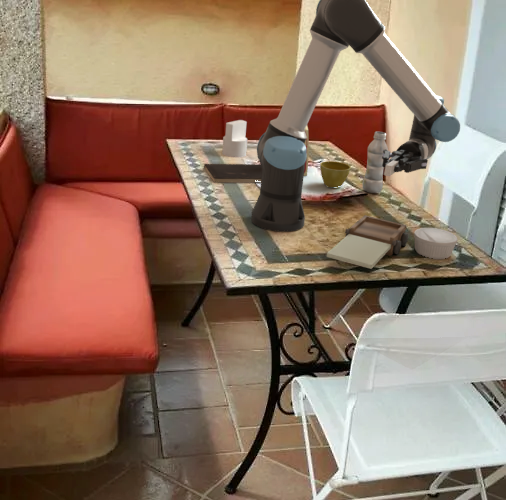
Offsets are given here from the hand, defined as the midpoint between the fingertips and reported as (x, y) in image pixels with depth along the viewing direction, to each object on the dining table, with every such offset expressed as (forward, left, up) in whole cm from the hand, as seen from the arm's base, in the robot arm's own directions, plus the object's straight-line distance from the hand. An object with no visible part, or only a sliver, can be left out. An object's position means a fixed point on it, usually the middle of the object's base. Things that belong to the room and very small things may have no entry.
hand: (387, 170), depth 180 cm
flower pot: (+11, +51, -22) cm, 57 cm away
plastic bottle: (+22, +44, -22) cm, 54 cm away
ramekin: (+15, -5, -22) cm, 27 cm away
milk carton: (+2, +66, -22) cm, 70 cm away
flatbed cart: (+1, +2, -21) cm, 21 cm away
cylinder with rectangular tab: (-12, +90, -22) cm, 94 cm away
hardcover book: (-18, +64, -22) cm, 70 cm away
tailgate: (-3, -2, -19) cm, 19 cm away
